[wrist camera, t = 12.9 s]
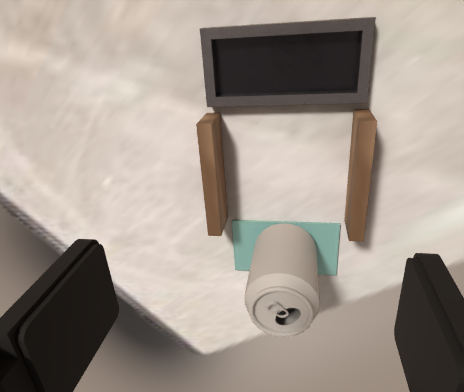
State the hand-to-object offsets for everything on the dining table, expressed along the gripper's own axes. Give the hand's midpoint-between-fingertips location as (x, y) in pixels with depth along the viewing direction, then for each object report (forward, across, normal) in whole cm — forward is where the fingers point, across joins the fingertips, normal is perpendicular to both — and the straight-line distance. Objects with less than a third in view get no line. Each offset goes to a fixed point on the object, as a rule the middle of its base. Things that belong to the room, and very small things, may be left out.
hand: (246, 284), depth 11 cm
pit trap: (+30, 0, -3) cm, 30 cm away
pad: (+30, 0, +19) cm, 36 cm away
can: (+30, 0, +19) cm, 36 cm away
